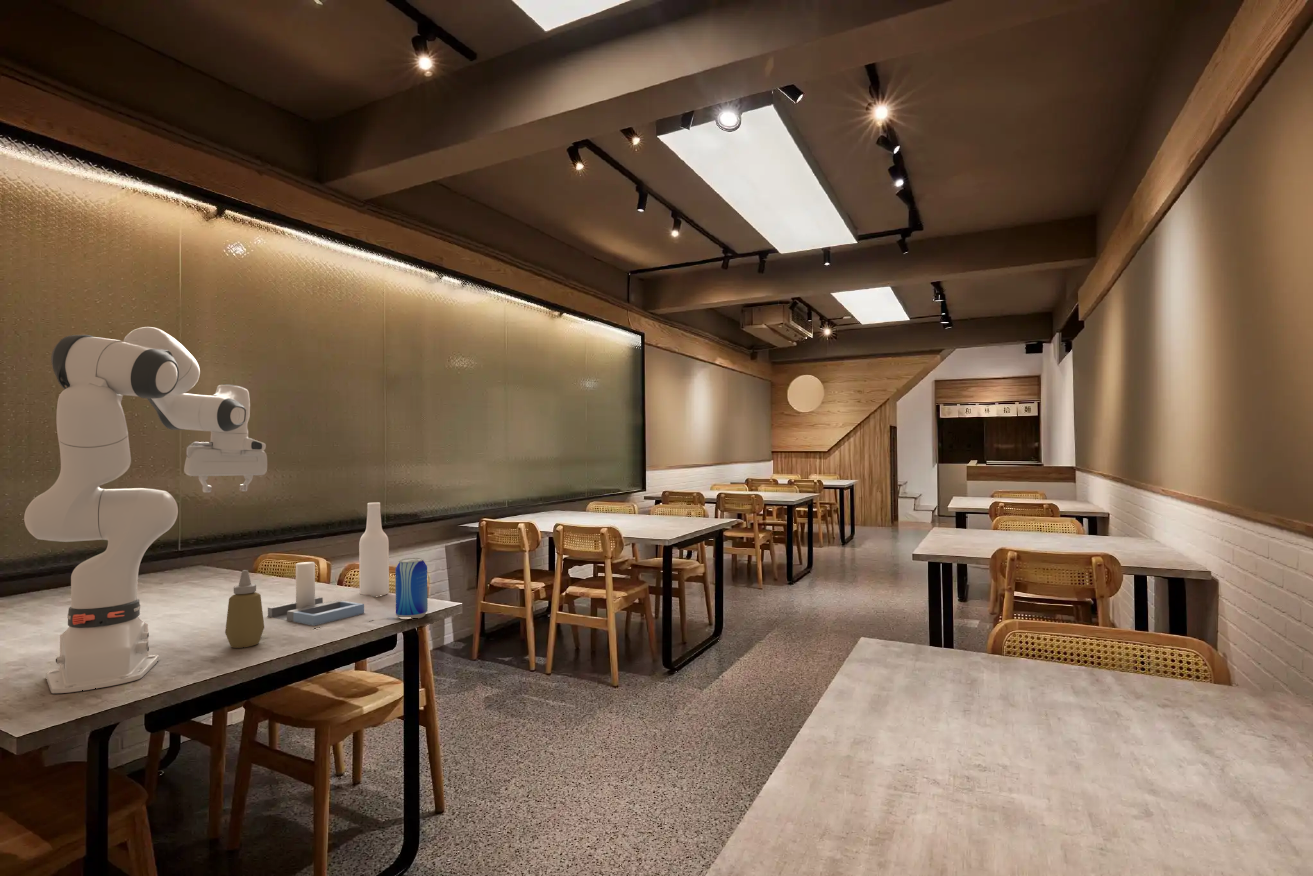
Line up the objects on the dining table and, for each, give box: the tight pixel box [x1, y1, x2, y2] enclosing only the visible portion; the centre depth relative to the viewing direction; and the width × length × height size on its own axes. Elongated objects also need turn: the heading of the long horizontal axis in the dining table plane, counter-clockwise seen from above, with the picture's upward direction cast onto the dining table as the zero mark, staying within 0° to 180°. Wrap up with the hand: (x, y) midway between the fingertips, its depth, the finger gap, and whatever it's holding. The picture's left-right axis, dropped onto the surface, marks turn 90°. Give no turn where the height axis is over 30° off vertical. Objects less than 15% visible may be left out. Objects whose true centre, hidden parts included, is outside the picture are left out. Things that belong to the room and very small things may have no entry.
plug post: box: [295, 561, 316, 609], centre depth 187 cm, size 5×5×14 cm
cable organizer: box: [266, 596, 366, 630], centre depth 185 cm, size 22×15×4 cm
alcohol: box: [358, 501, 390, 598], centre depth 214 cm, size 9×9×30 cm
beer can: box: [394, 557, 429, 619], centre depth 185 cm, size 8×8×16 cm
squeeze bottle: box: [224, 569, 265, 649], centre depth 160 cm, size 8×8×18 cm
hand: (225, 491), depth 186 cm, fingers open, 8 cm apart
